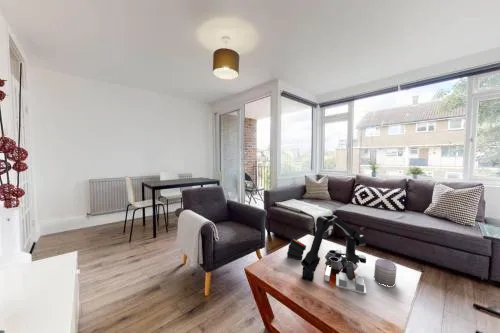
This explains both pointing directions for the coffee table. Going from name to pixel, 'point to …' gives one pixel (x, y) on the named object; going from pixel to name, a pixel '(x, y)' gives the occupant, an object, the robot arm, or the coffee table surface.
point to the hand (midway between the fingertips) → (349, 268)
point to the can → (385, 272)
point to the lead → (350, 273)
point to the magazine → (296, 250)
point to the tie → (327, 273)
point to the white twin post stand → (350, 283)
